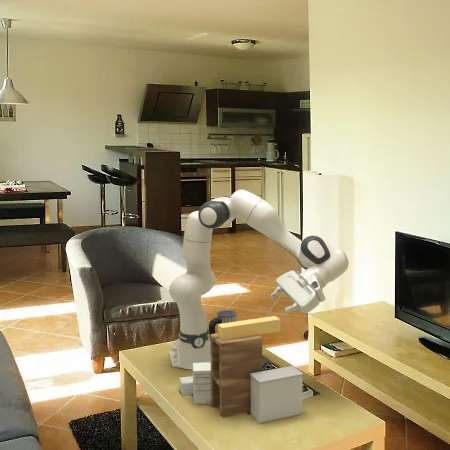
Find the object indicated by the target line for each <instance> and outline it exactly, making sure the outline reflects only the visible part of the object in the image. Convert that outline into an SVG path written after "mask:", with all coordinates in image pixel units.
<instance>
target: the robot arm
mask: <svg viewBox="0 0 450 450" xmlns="http://www.w3.org/2000/svg"><path fill="white" fill-rule="evenodd" d="M236 219H239V220H240V221H242V222H244V223H245V224H247V225H248V226H249V227H251V228H252V229H254V230H256V231H258V232H259V233H261V234H263V235H264V236H266V238H267V237H268V238H269V239H270V240H272V241H273V242H275V244H277V245H278V246H280V247H281V248H283V249H284V250H285V251H286V252H288V253H289V254H291V255H292V256H293V257H294V258H295V259H296V260H297V262H298V264H299V265H300V266H301V268H302V269H304V271H302V272H300V270H299V271H298V269H297V270H295V269H292V270H290V271H288V272H287V271H286V272H285V273H283V274H282V275H279V276H278V277H276V279H275V283H276V285H277V287H276V288H275V290H274V292H272V293H271V294H270V296H271V298H272V299H273V300H276V299H278V298H279V294H282V293H283V294H284V295H286V296H287V297H288V299H290V300H291V301H292V302H293V304H292V305H290V306H288V305H286V306H285V307H284V308H283V310H284V312H285V313H286V314H289V313H290V312H294V311H298V310H300V311H301V312H302V313H303V314H306V313H307V314H308V313H310V312H311V311H313V310H314V309H316V308H317V307H318V306H320V303H322V302H324V301H325V300H326V297H325V293H324V292H323V289H324V288H325V287H326V286H327V285H329V283H331V282H334V281H335V280H336V279H338V278H340V277H341V276H342V275H343V274H344V273H345V272H347V270H348V268H349V259H348V257H347V254H346V253H345V252H344V251H343V250H342V249H341V248H339V247H338V248H336V247H334V246H332V245H331V244H328V243H327V242H326V241H325V240H324V239H323V238H322V237H320V236H318V235H308V236H306V237H304V239H303V240H301V239H299V238H298V237H296V235H294V234H292V233H291V232H290V231H289V230H288V229H287V228H286V227H285V225H284V224H283V222H282V219H281V218H280V215H279V213H278V211H277V210H276V209H275V207H274V206H272V204H270V203H269V202H268V201H266V200H264V199H263V198H262V197H260V196H258V195H256V194H254V193H252V192H251V191H248V190H246V189H237V190H235V192H233V193H232V194H231V195H230V196H221V197H220V196H219V197H215V198H213V199H211V200H208V201H206V202H204V203H203V204H202V205H201V206H200V208H199V209H198V210H196V211H195V210H194V211H193V212H191V213H189V215H188V216H187V219H186V224H185V227H184V234H183V244H182V252H181V253H182V258H183V260H184V261H186V262H185V263H186V264H185V265H186V272H185V273H183V274H181V275H179V276H177V277H176V278H175V279H174V280H172V282H171V283H170V284H169V285H170V286H169V290H168V291H169V295H170V297H171V299H172V300H173V301H174V302H175V303H176V305H177V308H178V311H179V325H180V326H179V327H180V329H179V331H178V338H177V339H176V340H175V341H174V343H173V345H172V346H171V350H170V351H169V352H168V356H169V358H170V362H171V366H172V367H173V368H181V369H185V370H192V371H193V363H205V362H211V345H210V338H209V328H208V311H207V310H206V309H205V308H204V307H203V304H202V299H201V298H202V296H203V295H206V294H207V293H210V291H211V290H212V289H213V288H214V286H215V285H216V282H217V281H216V280H217V279H216V275H215V273H214V271H213V270H212V266H211V265H212V264H211V250H212V249H211V247H212V236H213V231H214V229H218V228H222V227H225V226H227V225H228V224H230V223H232V222H234V221H236Z"/></svg>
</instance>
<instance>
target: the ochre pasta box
mask: <svg viewBox="0 0 450 450" xmlns="http://www.w3.org/2000/svg"><path fill="white" fill-rule="evenodd" d="M278 332H281V318H280V317H278V316H276V315H271V316H266V317H258V318H251V319H245V320H244V319H243V320H238V321H237V320H236V322H230V323H223V324H218V337H219V338H220V339H221V340H228V339H235V338H241V337H247V336H254V335H259V336H261V335H265V334H271V333H272V334H273V333H278Z"/></svg>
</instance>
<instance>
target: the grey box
mask: <svg viewBox="0 0 450 450" xmlns="http://www.w3.org/2000/svg"><path fill="white" fill-rule="evenodd" d="M250 376H251V411H250V415H251V416H252V417H253V418H254V419H255V420H256V421H257V422H258V423H259V424H262V423H267V422H271V421H275V420H281V419H283V418H284V419H285V418H288V417H294V416H298V415H302V414H303V381H304V380H303V376H304V373H303V372H302V371H301V370H299V369H298V368H297V367H295V366H294V365H288V366H285V367H284V366H283V367H278V368H273V369H272V368H271V369H268V370H262V371H261V372H256V373H250Z"/></svg>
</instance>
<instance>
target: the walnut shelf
mask: <svg viewBox="0 0 450 450" xmlns="http://www.w3.org/2000/svg"><path fill="white" fill-rule="evenodd" d="M209 340H210V345H211V403H210V405H211V406H212V407H213V408H215V407H219V415H220V418H226V417H230V416H236V415H240V414H245V413H246V414H247V413H248V412H249V413H251V376H250V373H256V372H261V371H263V337H262V336H261V335H254V336H247V337H241V338H235V339H228V340H221V339H220V338H219V337H218V333H217V332H215V334H210V338H209Z"/></svg>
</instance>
